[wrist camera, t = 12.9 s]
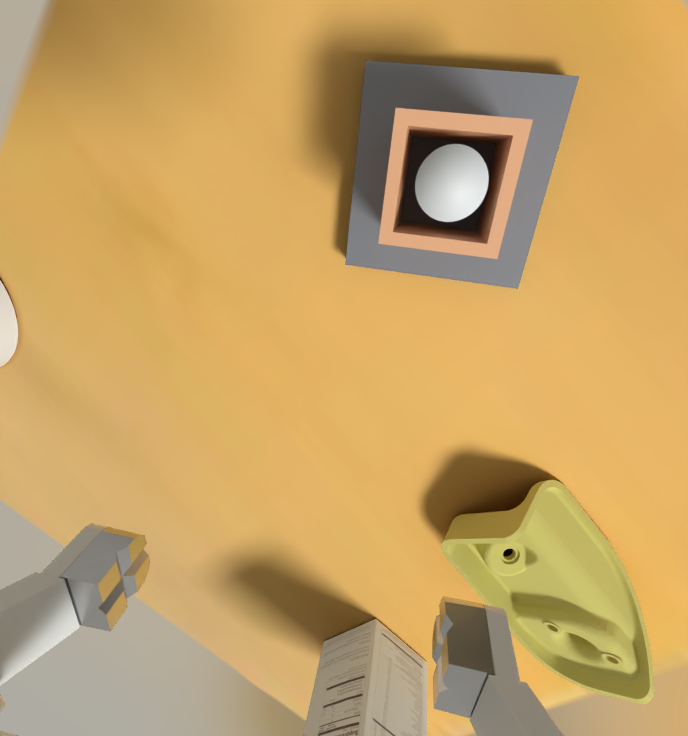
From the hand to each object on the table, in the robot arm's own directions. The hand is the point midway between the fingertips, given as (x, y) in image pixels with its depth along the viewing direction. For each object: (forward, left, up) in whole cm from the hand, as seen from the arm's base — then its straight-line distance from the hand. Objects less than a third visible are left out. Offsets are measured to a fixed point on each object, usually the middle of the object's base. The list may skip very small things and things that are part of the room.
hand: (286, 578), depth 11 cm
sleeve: (+3, +10, -22) cm, 24 cm away
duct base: (+3, +10, -24) cm, 26 cm away
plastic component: (+18, -22, -24) cm, 38 cm away
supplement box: (+5, -42, -24) cm, 49 cm away
